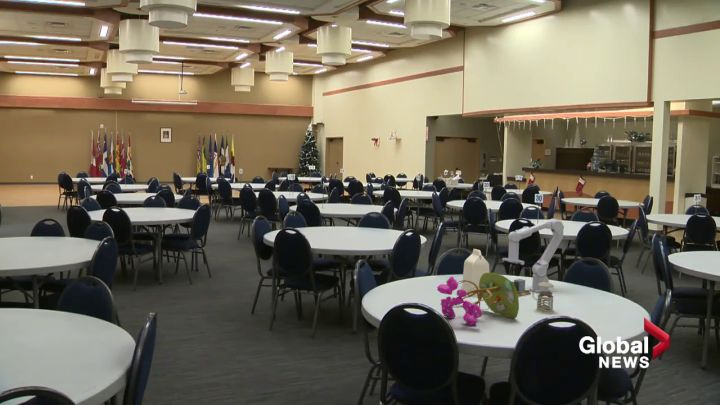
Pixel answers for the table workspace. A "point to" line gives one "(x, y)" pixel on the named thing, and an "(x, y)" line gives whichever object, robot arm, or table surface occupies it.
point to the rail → (523, 292)
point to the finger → (519, 284)
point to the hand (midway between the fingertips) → (512, 275)
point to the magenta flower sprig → (491, 289)
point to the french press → (544, 298)
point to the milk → (474, 270)
